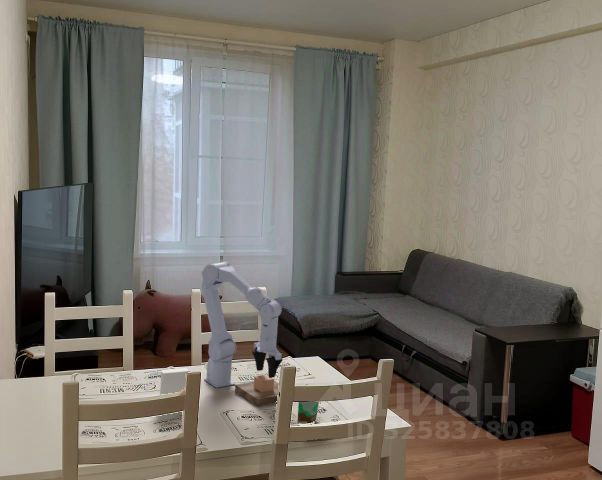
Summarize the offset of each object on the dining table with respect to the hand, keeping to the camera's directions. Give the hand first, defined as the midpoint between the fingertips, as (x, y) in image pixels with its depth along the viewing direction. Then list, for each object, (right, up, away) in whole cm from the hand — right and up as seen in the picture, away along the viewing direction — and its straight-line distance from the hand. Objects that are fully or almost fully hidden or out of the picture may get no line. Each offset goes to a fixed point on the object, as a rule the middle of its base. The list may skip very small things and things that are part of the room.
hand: (265, 373), depth 213 cm
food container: (+15, -11, -18) cm, 26 cm away
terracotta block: (-1, -5, 0) cm, 5 cm away
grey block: (-29, -8, -14) cm, 33 cm away
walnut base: (-1, -8, +1) cm, 8 cm away
